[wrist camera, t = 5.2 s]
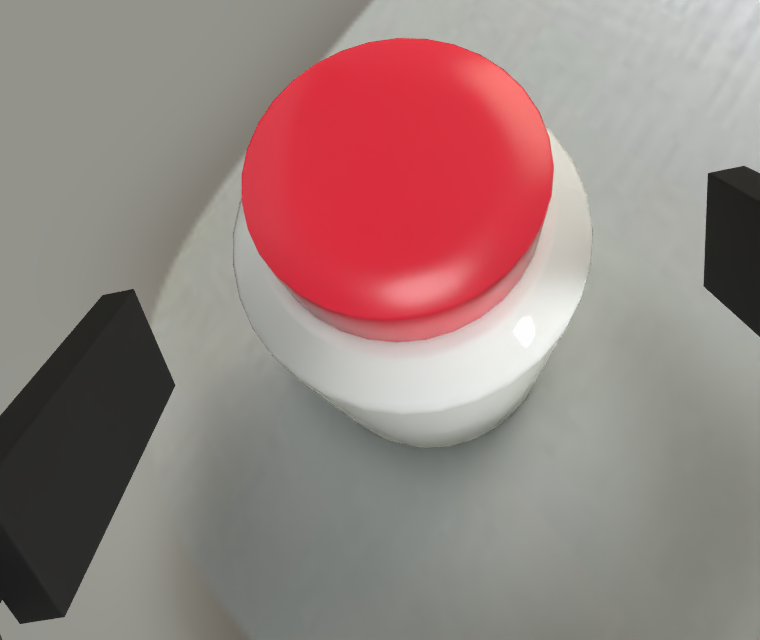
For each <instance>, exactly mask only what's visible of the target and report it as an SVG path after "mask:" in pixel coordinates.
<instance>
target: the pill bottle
mask: <svg viewBox="0 0 760 640" xmlns="http://www.w3.org/2000/svg"><path fill="white" fill-rule="evenodd" d="M592 237H593V227H592V222H591V216H590V210H589V204H588V198H587V193H586V191H585V188H584V186H583V183H582V181H581V179H580V176H579V174H578V171H577V169H576V166H575V164H574V162H573V161H572V159H571V158H570V156H569V155H568V153H567V152H566V150H565V149H564V147H563V146H562V144H561V143H560V142H559V140H558V139H557V137H556V136H555V135H554V134H553V133H552V132H551V131H550V130H549V129H548V128H547V127H546V126H545V125H544V123H543V120H542V117H541V115H540V112H539V110H538V109H537V108H536V106H535V105H534V103H533V102H532V100H531V99H530V97H529V96H528V94H527V93H526V91H525V90H524V89H523V88H522V87H521V86H520V85H519V84H518V83H517V82H516V81H515V80H514V79H513V78H512V77H511V76H510V75H509V74H508V73H507V72H506V71H505V70H504V69H502V68H500V67H499V66H497V65H496V64H494V63H492V62H491V61H489V60H488V59H486V58H484V57H483V56H481V55H480V54H477V53H474V52H472V51H469V50H467V49H464V48H462V47H459V46H457V45H454V44H449V43H444V42H439V41H434V40H429V39H406V38H396V39H389V40H382V41H375V42H368V43H365V44H362V45H359V46H356V47H352V48H349V49H346V50H343V51H340V52H338V53H336V54H334V55H332V56H330V57H328V58H326V59H324V60H322V61H320V62H318V63H316V64H315V65H314V66H312V67H311V68H309V69H308V70H307V71H305V72H304V73H303V74H301V75H300V76H298V77H297V78H296V79H294V80H293V81H292V82H291V83H290V84H289V85H288V86H287V87H286V88H285V89H284V90H283V92H281V94H280V95H279V96H278V97H277V98H276V99H275V100H274V101H273V102H272V104H271V105H270V107H269V108H268V110H267V111H266V113H265V114H264V116H263V117H262V118H261V120H260V121H259V123H258V125H257V127H256V130H255V132H254V134H253V137H252V139H251V141H250V144H249V146H248V148H247V153H246V158H245V162H244V167H243V172H242V199H241V201H240V204H239V209H238V214H237V218H236V223H235V228H234V232H233V267H234V272H235V277H236V282H237V287H238V292H239V297H240V300H241V302H242V305H243V307H244V309H245V312H246V314H247V316H248V318H249V321H250V323H251V325H252V328H253V330H254V331H255V332H256V334H257V335H258V337H259V338H260V339H261V341H262V342H263V343H264V345H265V346H266V348H267V349H268V350H269V352H270V353H271V355H272V356H273V357H274V358H275V359H276V360H277V361H278V362H280V363H281V364H282V365H283V366H284V367H285V368H286V369H287V370H288V371H290V372H291V373H292V374H293V375H294V376H295V377H296V378H297V379H298V380H300V381H301V382H302V383H303V384H305V385H306V386H307V387H309V388H310V389H312V390H313V391H314V392H316V393H317V394H318V395H320V396H321V397H322V398H324V399H325V400H326V401H328V402H329V403H331V404H332V405H333V406H335V407H336V408H337V409H339V410H340V411H341V412H343V413H344V414H345V415H347V416H348V417H350V418H351V419H352V420H354V421H355V422H356V423H358V424H359V425H360V426H362V427H364V428H366V429H367V430H369V431H371V432H372V433H374V434H376V435H378V436H379V437H381V438H384V439H387V440H390V441H393V442H396V443H399V444H402V445H408V446H415V447H423V448H432V447H446V446H452V445H456V444H460V443H463V442H467V441H470V440H474V439H475V438H477V437H479V436H481V435H483V434H485V433H487V432H489V431H491V430H493V429H495V428H496V427H497V426H498V425H500V424H501V423H502V422H503V421H505V420H506V419H507V418H508V417H510V416H511V415H512V414H513V413H514V412H515V411H516V409H517V408H518V407H519V406H520V405H521V403H522V402H523V401H524V400H525V399H526V397H527V396H528V395H529V393H530V391H531V389H532V387H533V386H534V384H535V382H536V380H537V379H538V377H539V375H540V373H541V372H542V370H543V368H544V366H545V365H546V363H547V361H548V359H549V358H550V356H551V354H552V352H553V351H554V349H555V347H556V345H557V344H558V342H559V340H560V338H561V336H562V335H563V333H564V331H565V329H566V327H567V325H568V324H569V322H570V320H571V318H572V316H573V314H574V312H575V310H576V308H577V306H578V305H579V303H580V301H581V298H582V295H583V291H584V288H585V284H586V281H587V277H588V273H589V270H590V266H591V256H592Z"/></svg>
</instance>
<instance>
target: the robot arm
mask: <svg viewBox="0 0 760 640" xmlns="http://www.w3.org/2000/svg"><path fill="white" fill-rule="evenodd" d="M704 287H705V288H706V289H707V290H708V291H710V292H711V293H712V294H713V295H714V296H715V297H716V298H717V299H718V300H720V301H721V302H722V303H723V304H724V305H725V306H726V307H727V308H728V309H730V310H731V311H732V312H733V313H734V314H735V315H736V316H737V317H738V318H740V319H741V320H742V321H743V322H744V323H745V324H746V325H747V326H748V327H750V328H751V329H752V330H753V331H754V332H755V333H756V334H757V335H758V336H760V173H758V172H756V171H754V170H752V169H750V168H748V167H745V166H741V167H736V168H732V169H727V170H722V171H717V172H712V173H708V187H707V213H706V240H705V266H704ZM174 387H175V384H174V381H173V379H172V377H171V374H170V372H169V370H168V367H167V365H166V363H165V360H164V358H163V356H162V354H161V351H160V349H159V347H158V344H157V342H156V340H155V337H154V335H153V333H152V330H151V328H150V326H149V324H148V321H147V319H146V317H145V314H144V312H143V310H142V307H141V305H140V303H139V300H138V298H137V296H136V293H135V291H134V289H131V290H127V291H122V292H117V293H112V294H106V295H103V296H102V297H101V298H100V299H99V300H98V302H96V304H95V305H94V306H93V307H92V308H91V310H90V311H89V312H88V313H87V314H86V315H85V317H84V318H83V319H82V320H81V321H80V322H79V324H78V325H77V326H76V327H75V328H74V330H73V331H72V332H71V333H70V334H69V335H68V337H67V338H66V339H65V340H64V341H63V343H62V344H61V345H60V346H59V347H58V348H57V350H56V351H55V352H54V353H53V354H52V355H51V357H50V358H49V359H48V360H47V361H46V363H45V364H44V365H43V366H42V367H41V368H40V370H39V371H38V372H37V373H36V374H35V376H34V377H33V378H32V379H31V380H30V381H29V383H28V384H27V385H26V386H25V387H24V388H23V390H22V391H21V392H20V393H19V394H18V396H17V397H16V398H15V399H14V400H13V402H12V403H11V404H10V405H9V406H8V408H7V409H6V410H5V411H4V412H3V413H2V414H1V415H0V603H1V601H2V600H3V601H4V602H5V604H6V605H7V607H8V608H9V609H10V611H11V612H12V613H13V615H14V616H15V618H16V619H17V620H18V622H19V623H20V624H23V623H29V622H35V621H41V620H48V619H54V618H60V617H65V615H66V613H67V610H68V608H69V607H70V605H71V602H72V600H73V598H74V596H75V594H76V592H77V590H78V588H79V586H80V583H81V582H82V579H83V577H84V575H85V573H86V571H87V569H88V567H89V565H90V563H91V561H92V559H93V556H94V554H95V552H96V550H97V548H98V546H99V544H100V542H101V540H102V538H103V536H104V533H105V531H106V529H107V527H108V525H109V523H110V521H111V519H112V516H113V515H114V512H115V510H116V508H117V506H118V504H119V502H120V500H121V498H122V496H123V494H124V492H125V489H126V487H127V485H128V483H129V481H130V479H131V477H132V475H133V472H134V470H135V469H136V466H137V464H138V462H139V460H140V458H141V456H142V454H143V452H144V450H145V448H146V446H147V443H148V441H149V439H150V437H151V435H152V433H153V431H154V429H155V427H156V425H157V423H158V420H159V418H160V416H161V414H162V412H163V410H164V408H165V406H166V404H167V402H168V400H169V397H170V395H171V393H172V391H173V389H174ZM0 640H2V638H1V635H0Z"/></svg>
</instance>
